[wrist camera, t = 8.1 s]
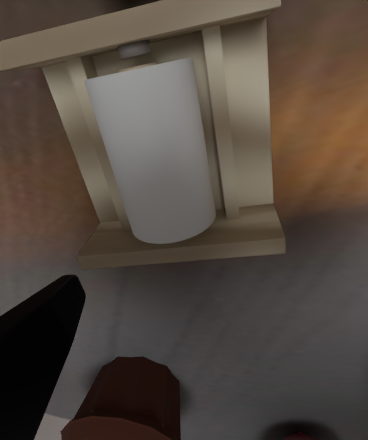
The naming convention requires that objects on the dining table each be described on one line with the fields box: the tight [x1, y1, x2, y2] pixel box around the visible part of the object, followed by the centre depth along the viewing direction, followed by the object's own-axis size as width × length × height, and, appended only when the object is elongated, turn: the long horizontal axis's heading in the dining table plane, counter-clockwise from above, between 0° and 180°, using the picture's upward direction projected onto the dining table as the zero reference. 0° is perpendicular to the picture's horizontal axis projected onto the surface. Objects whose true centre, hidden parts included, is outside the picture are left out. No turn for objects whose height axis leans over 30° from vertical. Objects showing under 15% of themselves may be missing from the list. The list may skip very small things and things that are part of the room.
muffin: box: [61, 357, 181, 440], centre depth 28 cm, size 12×11×10 cm
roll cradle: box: [0, 0, 286, 270], centre depth 16 cm, size 12×12×5 cm
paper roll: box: [84, 57, 216, 244], centre depth 15 cm, size 8×5×5 cm, turn 11°
